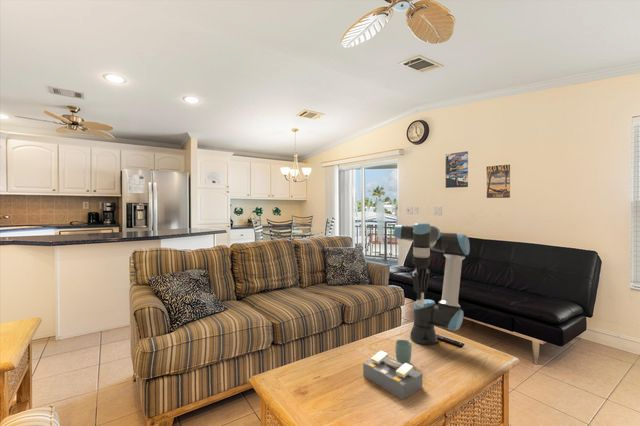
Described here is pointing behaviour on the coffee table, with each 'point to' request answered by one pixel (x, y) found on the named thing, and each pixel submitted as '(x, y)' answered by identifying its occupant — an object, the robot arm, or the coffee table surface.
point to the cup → (403, 351)
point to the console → (392, 378)
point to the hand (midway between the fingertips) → (420, 306)
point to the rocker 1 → (379, 357)
